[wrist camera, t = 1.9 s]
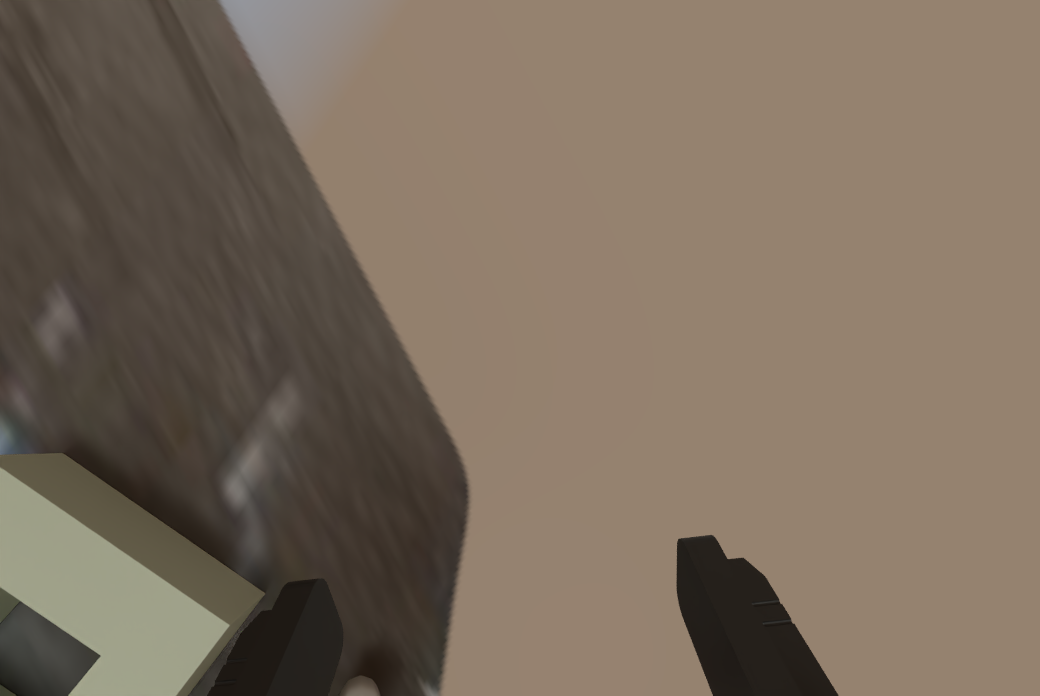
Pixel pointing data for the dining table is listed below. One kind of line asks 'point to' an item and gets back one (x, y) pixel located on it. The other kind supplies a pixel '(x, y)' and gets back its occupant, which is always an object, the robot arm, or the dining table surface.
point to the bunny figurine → (360, 687)
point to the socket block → (113, 579)
